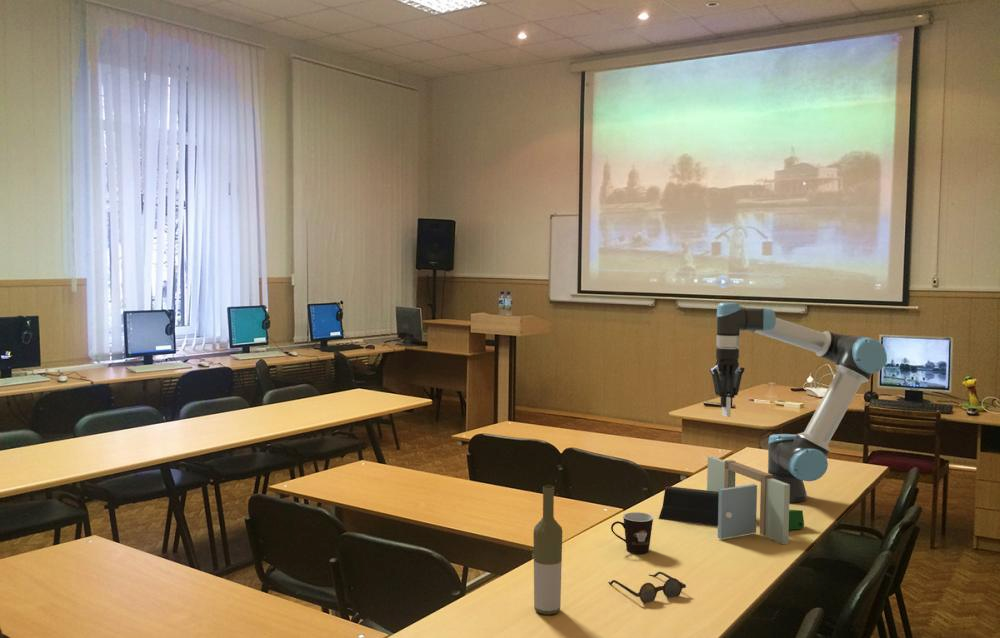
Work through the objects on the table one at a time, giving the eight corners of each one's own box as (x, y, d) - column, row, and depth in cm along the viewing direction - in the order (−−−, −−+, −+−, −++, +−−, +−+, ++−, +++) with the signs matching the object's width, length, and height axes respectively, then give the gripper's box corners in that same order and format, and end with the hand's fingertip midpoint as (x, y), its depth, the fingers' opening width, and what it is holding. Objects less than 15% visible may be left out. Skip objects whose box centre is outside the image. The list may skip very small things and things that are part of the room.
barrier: (734, 521, 250) (735, 491, 249) (732, 529, 242) (733, 498, 241) (662, 512, 258) (663, 483, 258) (658, 519, 250) (658, 490, 250)
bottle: (528, 614, 179) (529, 489, 177) (537, 602, 185) (538, 481, 184) (557, 619, 176) (558, 492, 175) (565, 607, 183) (566, 484, 181)
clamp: (789, 538, 245) (796, 511, 247) (800, 540, 239) (807, 512, 242) (757, 525, 243) (764, 498, 246) (767, 527, 238) (774, 499, 240)
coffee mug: (654, 547, 224) (655, 514, 223) (650, 557, 216) (651, 522, 215) (615, 542, 228) (615, 509, 227) (610, 552, 219) (610, 518, 219)
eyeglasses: (636, 606, 184) (637, 586, 184) (604, 584, 198) (604, 565, 198) (686, 596, 190) (686, 577, 190) (651, 575, 204) (651, 557, 203)
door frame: (712, 507, 263) (713, 453, 262) (789, 543, 228) (790, 481, 227) (705, 508, 262) (706, 454, 261) (781, 544, 227) (783, 482, 226)
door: (752, 531, 237) (753, 484, 236) (759, 534, 234) (760, 486, 233) (717, 537, 231) (718, 489, 230) (724, 540, 228) (725, 491, 227)
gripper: (736, 346, 264) (734, 413, 265) (704, 347, 260) (703, 415, 261) (750, 348, 257) (748, 417, 258) (718, 349, 253) (716, 419, 254)
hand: (726, 416), depth 260 cm, fingers closed
